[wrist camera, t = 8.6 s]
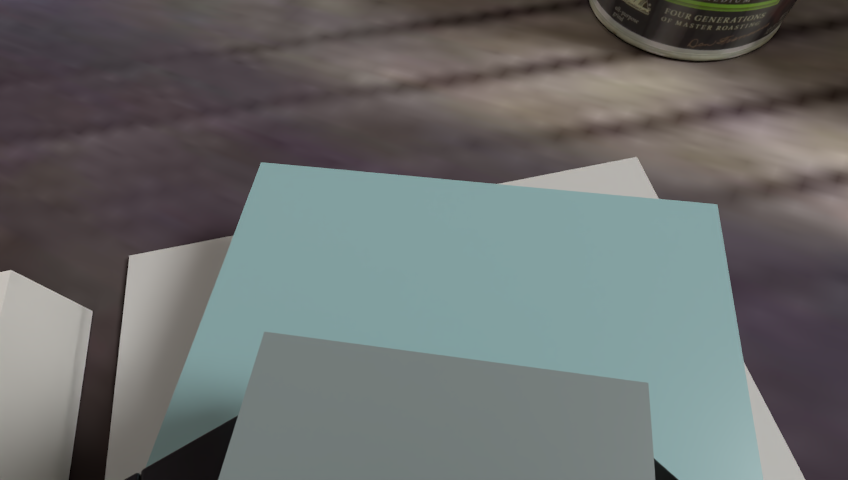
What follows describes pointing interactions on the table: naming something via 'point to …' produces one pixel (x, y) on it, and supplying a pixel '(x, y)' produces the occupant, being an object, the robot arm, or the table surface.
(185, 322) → the grey mat
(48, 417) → the parts tub
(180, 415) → the teal lid
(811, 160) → the table surface
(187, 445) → the robot arm
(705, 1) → the coffee can
